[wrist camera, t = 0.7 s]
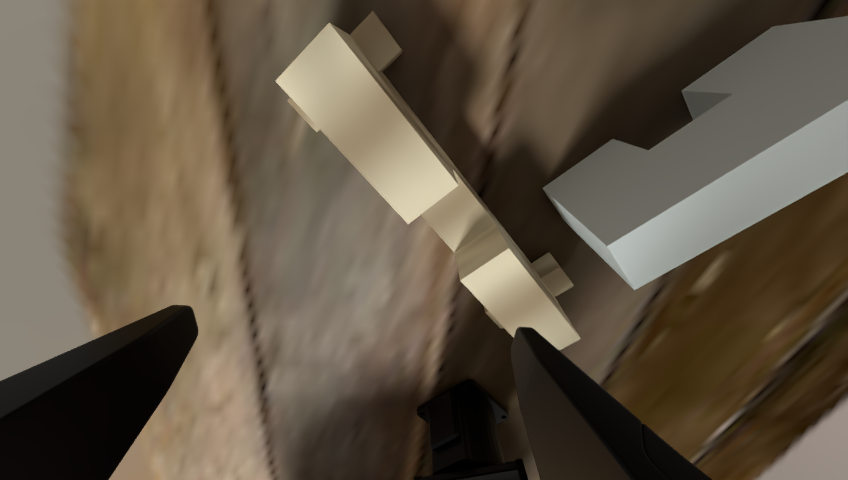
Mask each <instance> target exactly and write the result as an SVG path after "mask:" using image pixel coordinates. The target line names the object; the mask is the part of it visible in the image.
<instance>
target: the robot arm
mask: <svg viewBox="0 0 848 480" xmlns="http://www.w3.org/2000/svg"><path fill="white" fill-rule="evenodd" d="M197 336H198V326H197V323H196V319H195V315H194V312H193V309H192V308H191V307H190V306H186V305H172V306H169V307H167V308H165V309H163V310H160V311H158V312H156V313H154V314H151V315H149V316H147V317H144V318H142V319H140V320H138V321H135V322H133V323H131V324H129V325H126V326H124V327H122V328H120V329H117V330H115V331H113V332H111V333H108V334H106V335H104V336H101V337H99V338H97V339H95V340H92V341H90V342H88V343H86V344H83V345H81V346H79V347H77V348H74V349H72V350H70V351H67V352H65V353H63V354H61V355H58V356H57V357H54V358H52V359H50V360H48V361H45V362H43V363H41V364H38V365H36V366H33V367H31V368H29V369H27V370H25V371H22V372H20V373H18V374H15V375H13V376H11V377H9V378H6V379H4V380H2V381H0V480H109V478H110V477H111V475H112V474H113V472H114V471H115V469H116V468H117V466H118V465H119V463H120V462H121V460H122V459H123V457H124V456H125V454H126V453H127V451H128V450H129V448H130V447H131V445H132V444H133V442H134V441H135V439H136V438H137V436H138V435H139V434H140V432H141V431H142V429H143V428H144V426H145V425H146V423H147V422H148V420H149V419H150V417H151V416H152V414H153V413H154V411H155V410H156V408H157V407H158V405H159V404H160V402H161V401H162V399H163V398H164V396H165V395H166V393H167V391H168V390H169V388H170V386H171V385H172V383H173V381H174V379H175V377H176V376H177V374H178V372H179V370H180V368H181V366H182V364H183V363H184V361H185V359H186V357H187V355H188V353H189V351H190V350H191V348H192V346H193V344H194V342H195V340H196V338H197ZM511 360H512V366H513V372H514V377H515V383H516V389H517V394H518V400H519V405H520V409H521V413H522V417H523V421H524V424H525V427H526V431H527V434H528V438H529V441H530V445H531V448H532V452H533V455H534V458H535V462H536V465H537V469H538V472H539V476H540V479H541V480H712V479H711V478H709V477H708V476H707V475H706V474H704V473H703V472H702V471H701V470H699V469H698V468H697V467H695V466H694V465H693V464H692V463H690V462H689V461H688V460H687V459H685V458H684V457H683V456H682V455H680V454H679V453H678V452H677V451H676V450H674V449H673V448H672V447H671V446H670V445H668V444H667V443H666V442H665V441H664V440H663V439H661V438H660V437H659V436H658V435H657V434H655V433H654V432H653V431H652V430H651V429H650V428H648V427H647V426H646V425H645V424H642V423H641V421H640V420H639V419H638V418H637V417H636V416H634V415H633V414H632V413H631V412H630V411H629V410H627V409H626V408H625V407H624V406H623V405H622V404H620V403H619V402H618V401H617V400H616V399H615V398H614V397H612V396H611V395H610V394H609V393H608V392H607V391H605V390H604V389H603V388H602V387H601V386H600V385H598V384H597V383H596V382H595V381H594V380H593V379H591V378H590V377H589V376H588V375H587V374H586V373H585V372H583V371H582V370H581V369H580V368H579V367H578V366H576V365H575V364H574V363H573V362H572V361H571V360H569V359H568V358H567V357H566V356H565V355H564V354H562V353H561V352H560V351H559V350H558V349H557V348H556V347H554V346H553V345H552V344H551V343H550V342H549V341H547V340H546V339H545V338H544V337H543V336H542V335H540V334H539V333H538V332H537V331H536V330H535V329H533V328H531V327H518V328H517V329H516V332H515V335H514V339H513V342H512V346H511ZM417 415H418V416H419V417H421V418H422V419H423V420H425V421H426V422H427V423H429V434H430V449H431V450H432V471H433V475H429V476H423V477H422V476H415V477H414V480H528V478H527V474H526V471H525V467H524V464H523V461H522V459H516V460H515V461H512V462H506V463H505V459H504V455H503V451H502V446H501V442H500V437H499V433H498V429H497V424H499V423H501V422H503V421H505V420H507V419H508V418H509V414H508V411H507V410H506V409H504V408H503V407H502V406H501V405H500V404H499V403H498V402H497V401H496V400H495V399H493V398H492V397H491V396H490V395H489V394H488V393H487V392H486V391H485V390H484V389H482V388H481V387H480V386H479V385H478V384H477V383H476V382H475V381H473V380H466V381H464V382H463V383H461V384H459V385H457V386H455V387H454V388H452V389H450V390H448V391H446V392H445V393H443V394H441V395H439V396H437V397H436V398H434V399H432V400H430V401H428V402H427V403H425V404H423V405H421V406H419V407H418V408H417Z"/></svg>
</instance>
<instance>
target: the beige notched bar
mask: <svg viewBox="0 0 848 480" xmlns="http://www.w3.org/2000/svg"><path fill="white" fill-rule="evenodd" d="M402 53H403V51H402V50H401V48H400V47H399V46H398V44H397V43H396V41H395V40H394V39H393V37H392V36H391V35H390V33H389V32H388V30H387V29H386V28H385V26H384V25H383V24H382V22H381V21H380V20H379V18H378V17H377V15H376V14H375V13H374V11H372V12H371V13H370V14H369V15H368V16H367V17H366V18H365V19H364V20H363V21H362V22H361V23H360V24H359V26H358V27H357V28H356V29H355V30H354V31H353V32H352V33H351V34H350V35H349V34H347V33H346V32H344V31H343V30H341V29H339V28H338V27H336V26H334V25H333V24H331V23H328V24H327V25H326V26H325V28H324V29H323V30H322V31H321V32H320V33H319V34H318V35H317V36H316V37H315V38H314V40H313V41H312V42H311V43H310V44H309V45H308V46H307V47H306V48H305V49H304V50H303V51H302V53H301V54H300V55H299V56H298V57H297V58H296V59H295V60H294V61H293V62H292V63H291V65H290V66H289V67H288V68H287V69H286V70H285V71H284V72H283V73H282V74H281V75H280V77H279V78H278V79H277V80H276V82H277V83H278V84H279V85H280V87H281V88H282V89H283V90H284V91H285V92H286V93H287V94H288V95H289V96H290V98H289V99H288V100H287V101H288V102H289V103H290V104H291V105H292V106H293V108H294V109H295V110H296V111H297V112H298V113H299V114H300V115H301V116H302V117H303V118H304V119H305V120H306V121H307V122H308V124H309V125H310V126H311V127H312V128H313V129H314V130H315V131H316V132H318V131H319V130H321V131H322V132H323V133H324V134H325V135H326V136H327V137H328V138H329V139H330V140H331V142H332V143H333V144H334V145H335V146H336V147H337V148H338V149H339V150H340V151H341V152H342V153H343V154H344V156H345V157H346V158H347V159H348V160H349V161H350V162H351V163H352V164H353V165H354V166H355V167H356V168H357V170H358V171H359V172H360V173H361V174H362V175H363V176H364V177H365V178H366V179H367V180H368V181H369V183H370V184H371V185H372V186H373V187H374V188H375V189H376V190H377V191H378V192H379V193H380V194H381V195H382V197H383V198H384V199H385V200H386V201H387V202H388V203H389V204H390V205H391V206H392V207H393V208H394V209H395V211H396V212H397V213H398V214H399V215H400V216H401V217H402V218H403V219H404V220H405V221H406V222H407V224H409V223H410V222H412V221H413V220H414V219H416V218H417V217H418V216H420V215H421V216H422V217H423V218H424V219H425V220H426V221H427V222H428V224H429V225H430V226H431V227H432V228H433V229H434V230H435V231H436V232H437V234H438V235H439V236H440V237H441V238H442V239H443V240H444V241H445V243H446V244H447V245H448V246H449V247H450V248H451V249H452V250H453V252H454V253H455V258H456V263H457V267H458V272H459V277H460V281H461V282H462V283H463V284H464V285H465V286H466V287H467V288H468V289H469V290H470V291H471V293H472V294H473V295H474V296H475V297H476V298H477V299H478V300H479V301H480V302H481V303H482V304H483V306H484V309H485V313H486V314H487V315H488V316H489V317H490V318H491V319H492V320H493V321H494V322H495V323H496V324H497V326H498V327H499V328H500V329H502V328H503V327H504V328H505V329H506V330H507V331H508V332H509V334H510V335H511V336H512V337H513V338H514V335H515V332H516V329H517V328H518V327H531V328H533V329H535V330H536V331H537V332H538V333H539V334H540V335H542V336H543V337H544V338H545V339H546V340H547V341H549V342H550V343H551V344H552V345H553V346H554V347H556V348H557V349H558V350H561V349H563V348H565V347H567V346H568V345H570V344H572V343H574V342H576V341H578V340H580V339H581V338H580V337H579V335H578V333H577V332H576V330H575V329H574V327H573V325H572V324H571V322H570V321H569V319H568V317H567V316H566V314H565V313H564V311H563V309H562V308H561V306H560V305H559V303H558V301H557V300H556V298H555V297H556V296H558V295H559V294H561V293H563V292H564V291H566V290H568V289H569V288H571V287H573V286H574V285H573V283H572V282H571V281H570V279H569V278H568V276H567V275H566V274H565V272H564V271H563V270H562V268H561V267H560V266H559V264H558V263H557V262H556V260H555V259H554V258H553V256H552V255H551V254H550V252H548V253H547V254H545V255H544V256H542V257H540V258H539V259H537V260H536V261H534V262H533V263H530V261H529V260H528V259H527V257H526V256H525V255H524V254H523V252H522V251H521V250H520V248H519V247H518V246H517V245H516V243H515V242H514V241H513V239H512V238H511V237H510V236H509V234H508V233H507V232H506V230H505V229H504V228H503V227H502V225H501V224H500V223H499V221H498V220H497V219H496V218H495V216H494V215H493V214H492V212H491V211H490V210H489V209H488V207H487V206H486V205H485V203H484V202H483V201H482V200H481V198H480V197H479V196H478V194H477V193H476V192H475V191H474V189H473V188H472V187H471V185H470V184H469V183H468V182H467V180H466V179H465V178H464V176H463V175H462V174H461V173H460V171H459V170H458V169H457V167H456V166H455V165H454V164H453V162H452V161H451V160H450V158H449V157H448V156H447V155H446V153H445V152H444V151H443V149H442V148H441V147H440V146H439V144H438V143H437V142H436V140H435V139H434V138H433V137H432V135H431V134H430V133H429V131H428V130H427V129H426V128H425V126H424V125H423V124H422V122H421V121H420V120H419V119H418V117H417V116H416V115H415V113H414V112H413V111H412V110H411V108H410V107H409V106H408V104H407V103H406V102H405V101H404V99H403V98H402V97H401V95H400V94H399V93H398V92H397V90H396V89H395V88H394V86H393V85H392V84H391V83H390V81H389V80H388V79H387V77H386V76H385V75H384V74H383V71H384V70H385V69H386V68H387V67H388V66H389V65H390V64H391V63H392V62H393V61H395V60H396V59H397V58H398V57H399V56H400V55H401V54H402Z"/></svg>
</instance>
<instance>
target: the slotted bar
mask: <svg viewBox="0 0 848 480" xmlns="http://www.w3.org/2000/svg"><path fill="white" fill-rule="evenodd" d="M681 92H682V94H683V97H684V99H685V102H686V104H687V107H688V109H689V112H690V114H691V117H692V119H693V121H692V122H690V123H689V124H687V125H686V126H684V127H683V128H681V129H680V130H678V131H677V132H675V133H674V134H672V135H671V136H669V137H668V138H666V139H665V140H663V141H662V142H660V143H659V144H657V145H656V146H654V147H653V148H651V149H650V150H646V149H643V148H640V147H637V146H633V145H630V144H627V143H624V142H621V141H618V140H615V139H612V140H610V141H609V142H607V143H606V144H604V145H603V146H602V147H600V148H599V149H597V150H596V151H595V152H593V153H592V154H590V155H589V156H587V157H586V158H585V159H583V160H582V161H580V162H579V163H577V164H576V165H575V166H573V167H572V168H570V169H569V170H567V171H566V172H565V173H563V174H562V175H560V176H559V177H557V178H556V179H555V180H553V181H552V182H550V183H549V184H548V185H546V186H545V187H543V188H542V189H543V190H544V192H545V193H546V195H547V196H548V197H549V199H550V200H551V202H552V203H553V205H554V206H555V208H556V209H557V211H558V212H559V214H560V215H561V217H562V218H563V220H564V221H565V222H566V223H567V224H568V225H569V226H570V227H571V228H572V229H573V230H574V231H575V232H576V233H577V234H578V235H579V236H580V237H581V238H582V239H583V240H584V241H585V242H586V243H587V244H588V245H589V246H590V247H591V248H592V249H593V250H594V251H595V252H596V253H597V254H598V255H599V256H600V257H601V258H602V259H603V260H604V261H605V262H606V263H607V264H609V265H610V266H611V267H612V268H613V269H614V270H615V271H616V272H617V273H618V274H619V275H620V276H621V277H622V278H623V279H624V280H625V281H626V282H627V283H628V284H629V285H630V286H631V287H632V288H633V289H634V290H636V289H637V288H639V287H641V286H643V285H645V284H646V283H648V282H650V281H652V280H654V279H655V278H657V277H659V276H661V275H663V274H664V273H666V272H668V271H670V270H672V269H674V268H675V267H677V266H679V265H681V264H683V263H684V262H686V261H688V260H690V259H692V258H693V257H695V256H697V255H699V254H701V253H702V252H704V251H706V250H708V249H710V248H711V247H713V246H715V245H717V244H719V243H720V242H722V241H724V240H726V239H728V238H730V237H731V236H733V235H735V234H737V233H739V232H740V231H742V230H744V229H746V228H748V227H749V226H751V225H753V224H755V223H757V222H758V221H760V220H762V219H764V218H766V217H767V216H769V215H771V214H773V213H775V212H776V211H778V210H780V209H782V208H784V207H786V206H787V205H789V204H791V203H793V202H795V201H796V200H798V199H800V198H802V197H804V196H805V195H807V194H809V193H811V192H813V191H814V190H816V189H818V188H820V187H822V186H823V185H825V184H827V183H829V182H831V181H832V180H834V179H836V178H838V177H840V176H842V175H843V174H845V173H847V172H848V16H845V17H838V18H830V19H823V20H816V21H809V22H801V23H794V24H787V25H779V26H773V27H771V28H770V29H768V30H767V31H765V32H764V33H763V34H761V35H760V36H758V37H757V38H755V39H754V40H753V41H751V42H750V43H748V44H747V45H745V46H744V47H743V48H741V49H740V50H738V51H737V52H736V53H734V54H733V55H731V56H730V57H728V58H727V59H726V60H724V61H723V62H721V63H720V64H718V65H717V66H716V67H714V68H713V69H711V70H710V71H708V72H707V73H706V74H704V75H703V76H701V77H700V78H698V79H697V80H696V81H694V82H693V83H691V84H690V85H689V86H687V87H686V88H684V89H683V90H681Z"/></svg>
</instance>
